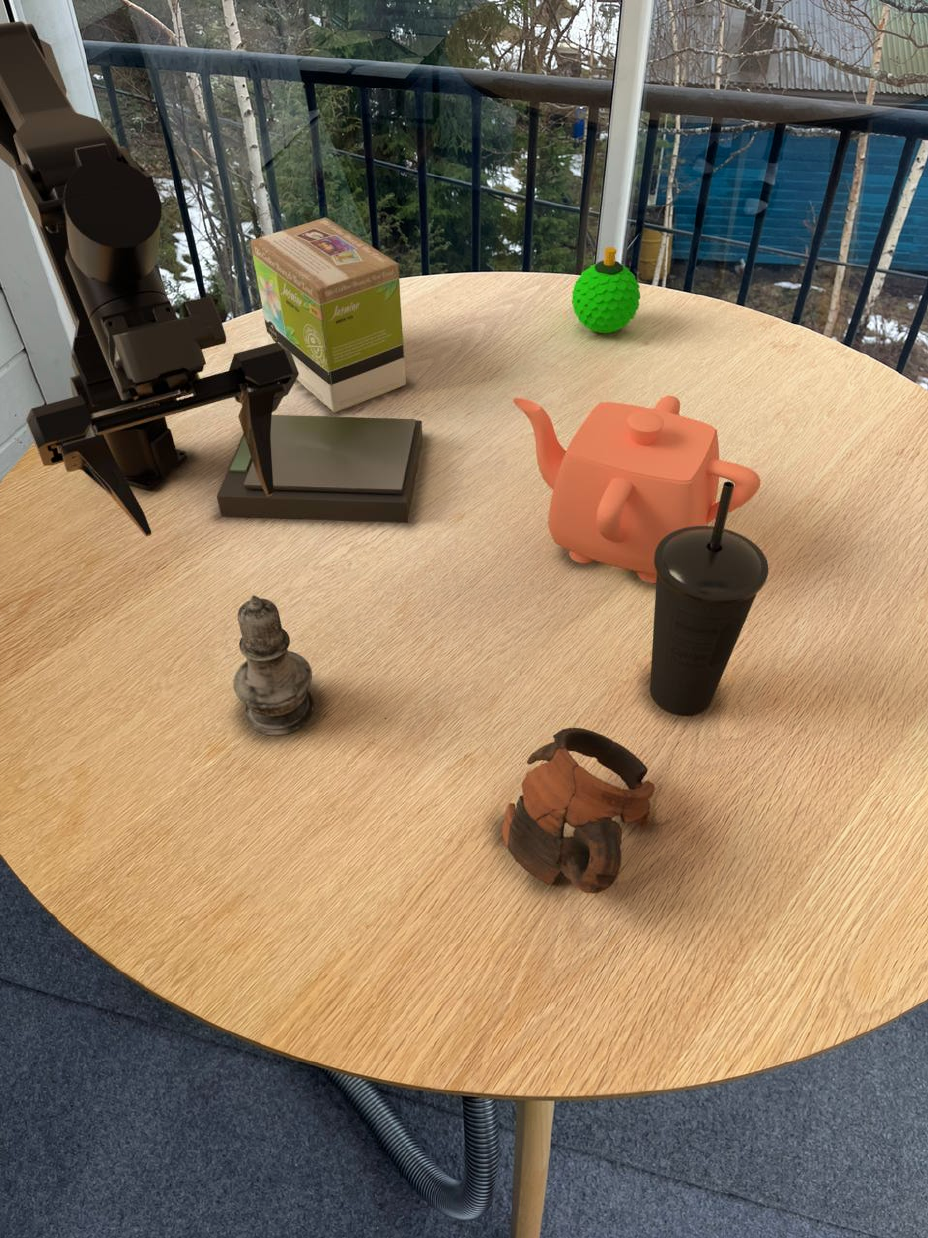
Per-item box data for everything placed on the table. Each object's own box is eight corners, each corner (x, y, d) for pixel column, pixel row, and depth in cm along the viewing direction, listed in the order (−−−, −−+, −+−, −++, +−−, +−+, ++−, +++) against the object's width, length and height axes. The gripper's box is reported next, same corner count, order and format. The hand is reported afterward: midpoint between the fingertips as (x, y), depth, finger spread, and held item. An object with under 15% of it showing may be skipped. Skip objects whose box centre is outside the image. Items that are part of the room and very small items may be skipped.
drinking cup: (736, 669, 75) (796, 462, 61) (723, 741, 70) (785, 532, 56) (642, 647, 77) (678, 441, 63) (622, 716, 72) (657, 508, 58)
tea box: (268, 360, 111) (246, 235, 101) (340, 335, 115) (327, 213, 105) (333, 416, 102) (316, 285, 92) (409, 386, 107) (402, 258, 96)
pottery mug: (479, 799, 67) (526, 706, 64) (591, 822, 70) (641, 735, 67) (522, 926, 57) (581, 823, 54) (651, 947, 60) (714, 850, 57)
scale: (221, 516, 90) (215, 494, 88) (254, 434, 100) (250, 413, 98) (407, 523, 89) (406, 500, 87) (422, 439, 99) (421, 418, 97)
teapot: (747, 571, 83) (781, 447, 74) (590, 621, 79) (605, 495, 70) (650, 471, 95) (669, 351, 85) (508, 509, 90) (511, 388, 81)
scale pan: (244, 488, 89) (243, 483, 88) (272, 419, 97) (271, 414, 97) (402, 494, 88) (401, 489, 87) (415, 423, 96) (415, 418, 96)
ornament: (581, 309, 119) (588, 230, 112) (643, 321, 117) (654, 241, 110) (560, 338, 114) (566, 257, 107) (625, 351, 112) (635, 269, 105)
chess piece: (303, 744, 70) (279, 631, 62) (229, 732, 71) (196, 619, 63) (327, 686, 74) (308, 573, 66) (257, 675, 75) (229, 562, 67)
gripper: (-23, 296, 57) (76, 538, 57) (268, 231, 63) (353, 449, 64) (0, 359, 67) (83, 563, 68) (247, 297, 74) (320, 484, 74)
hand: (211, 514), depth 68 cm, fingers open, 9 cm apart
